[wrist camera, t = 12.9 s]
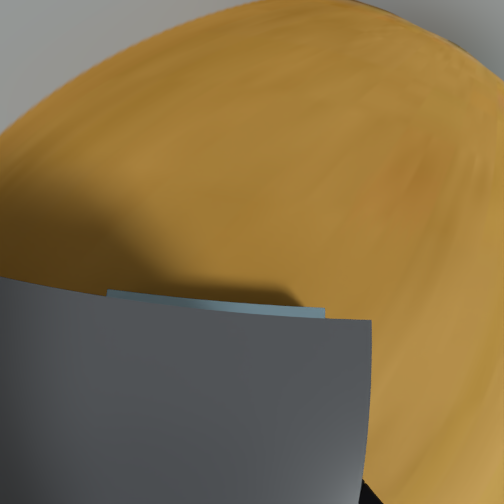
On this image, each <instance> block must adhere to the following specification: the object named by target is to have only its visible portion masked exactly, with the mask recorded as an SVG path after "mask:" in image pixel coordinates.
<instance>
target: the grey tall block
mask: <svg viewBox="0 0 504 504" xmlns="http://www.w3.org/2000/svg"><path fill="white" fill-rule="evenodd" d="M371 356H372V325H371V320H351V319H326V318H306V317H290V316H275V315H261V314H249V313H237V312H227V311H216V310H206V309H197V308H188V307H179V306H171V305H163V304H155V303H147V302H140V301H133V300H126V299H119V298H112V297H106V296H100V295H93V294H87V293H81V292H76V291H70V290H64V289H59V288H53V287H48V286H43V285H38V284H33V283H28V282H23V281H18V280H13V279H9V278H4V277H0V504H358V501H359V496H360V489H361V483H362V476H363V469H364V461H365V453H366V443H367V433H368V421H369V407H370V389H371Z"/></svg>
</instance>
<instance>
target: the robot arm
mask: <svg viewBox="0 0 504 504" xmlns="http://www.w3.org/2000/svg"><path fill="white" fill-rule="evenodd" d="M358 504H383V503H382V502H381V500H380V499H379V498H378V497H377V496H376V495H375V494H374V492H373V491H372V490H371V489H370V487H369V486H368V485H367V484H366V483H365V481H364V480H363V479H362V483H361V489H360V496H359V501H358Z"/></svg>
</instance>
